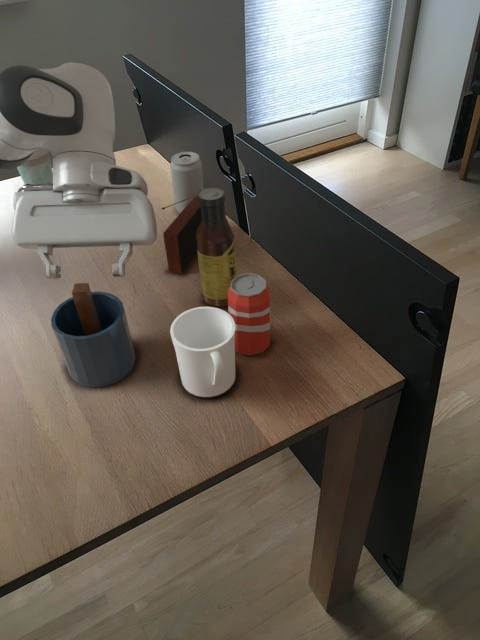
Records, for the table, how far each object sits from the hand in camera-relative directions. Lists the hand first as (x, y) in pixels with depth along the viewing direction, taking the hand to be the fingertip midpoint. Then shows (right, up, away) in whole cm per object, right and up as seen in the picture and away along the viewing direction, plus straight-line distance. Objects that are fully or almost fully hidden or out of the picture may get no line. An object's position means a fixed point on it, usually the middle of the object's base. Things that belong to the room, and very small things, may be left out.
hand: (86, 277), depth 77 cm
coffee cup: (-24, +23, +48) cm, 58 cm away
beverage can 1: (+11, +18, +40) cm, 45 cm away
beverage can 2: (+24, -10, +8) cm, 27 cm away
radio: (+12, +7, +28) cm, 31 cm away
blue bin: (+1, -13, +6) cm, 14 cm away
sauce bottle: (+19, -2, +17) cm, 25 cm away
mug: (+18, -16, +2) cm, 24 cm away
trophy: (+1, -12, +6) cm, 13 cm away
